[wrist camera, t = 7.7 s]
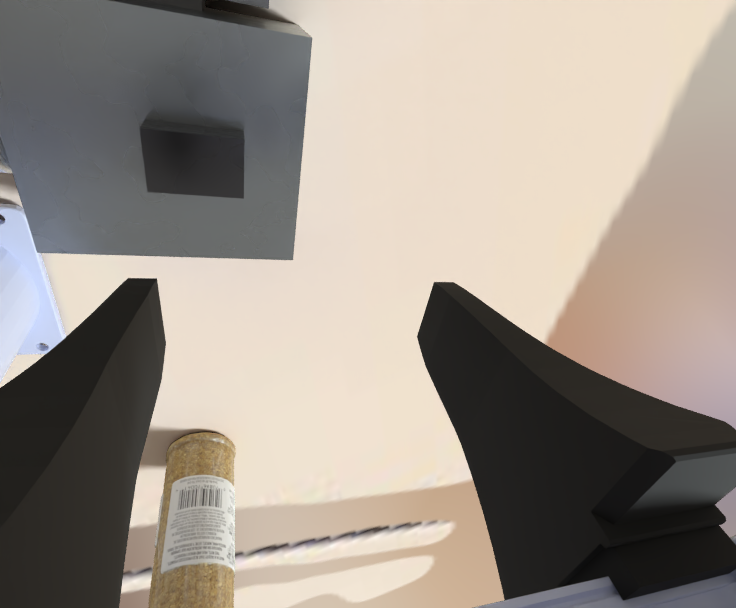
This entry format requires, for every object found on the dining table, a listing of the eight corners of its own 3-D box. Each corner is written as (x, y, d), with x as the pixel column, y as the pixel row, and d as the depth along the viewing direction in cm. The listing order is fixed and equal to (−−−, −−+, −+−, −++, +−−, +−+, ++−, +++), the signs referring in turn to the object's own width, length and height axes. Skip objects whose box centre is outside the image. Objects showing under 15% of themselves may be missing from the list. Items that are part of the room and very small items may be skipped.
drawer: (14, 201, 18) (-48, 266, 14) (-65, -45, 13) (-189, -50, 9) (284, 217, 21) (295, 273, 17) (297, 24, 16) (317, 41, 12)
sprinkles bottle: (156, 463, 30) (114, 726, 19) (183, 422, 28) (152, 689, 18) (220, 472, 32) (212, 712, 22) (248, 436, 30) (254, 677, 20)
